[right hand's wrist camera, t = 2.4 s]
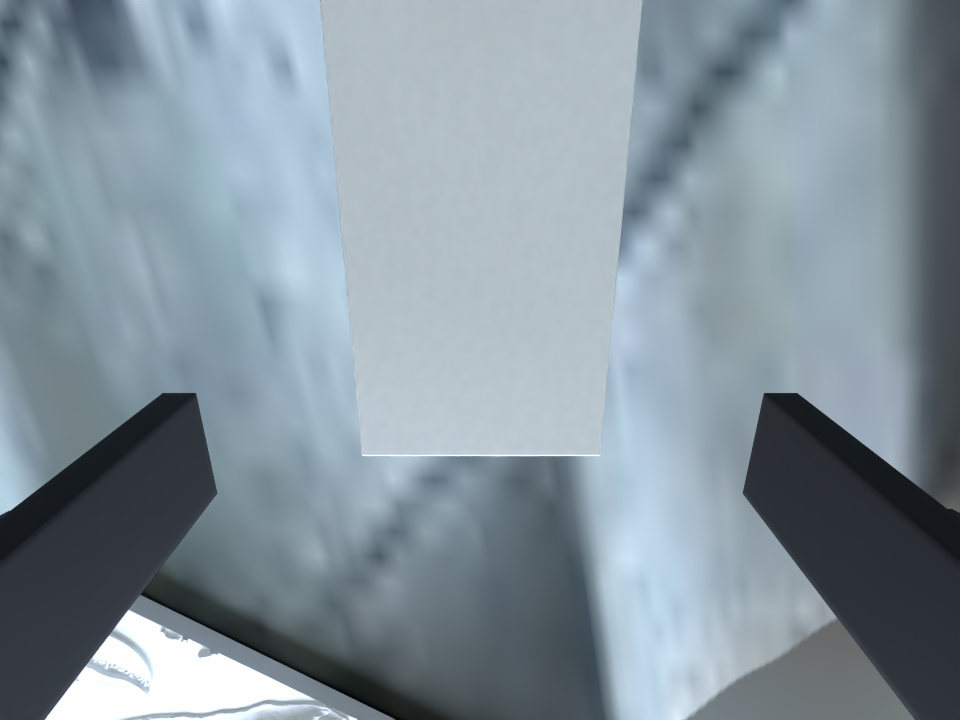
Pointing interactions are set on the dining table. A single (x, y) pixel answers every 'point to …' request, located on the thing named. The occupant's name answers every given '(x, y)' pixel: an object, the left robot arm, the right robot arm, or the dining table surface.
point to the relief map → (193, 678)
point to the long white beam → (481, 216)
